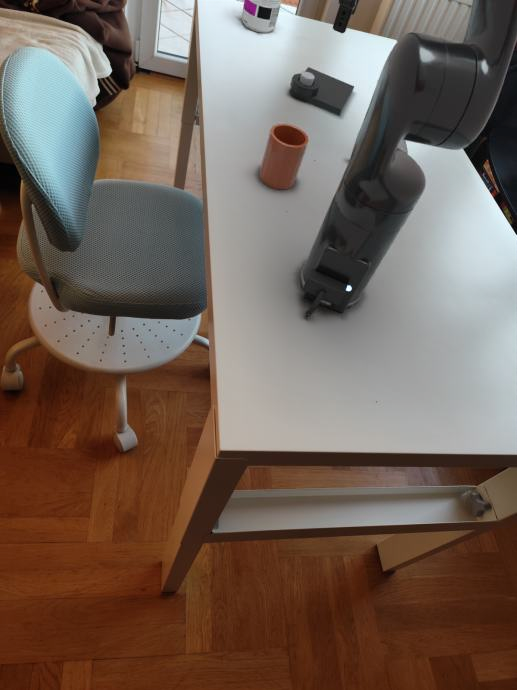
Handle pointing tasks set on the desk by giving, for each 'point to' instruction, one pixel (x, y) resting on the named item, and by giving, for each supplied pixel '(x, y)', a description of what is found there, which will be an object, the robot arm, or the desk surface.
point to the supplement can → (260, 14)
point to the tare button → (306, 78)
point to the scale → (322, 91)
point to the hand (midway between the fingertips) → (343, 21)
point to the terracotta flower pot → (283, 156)
